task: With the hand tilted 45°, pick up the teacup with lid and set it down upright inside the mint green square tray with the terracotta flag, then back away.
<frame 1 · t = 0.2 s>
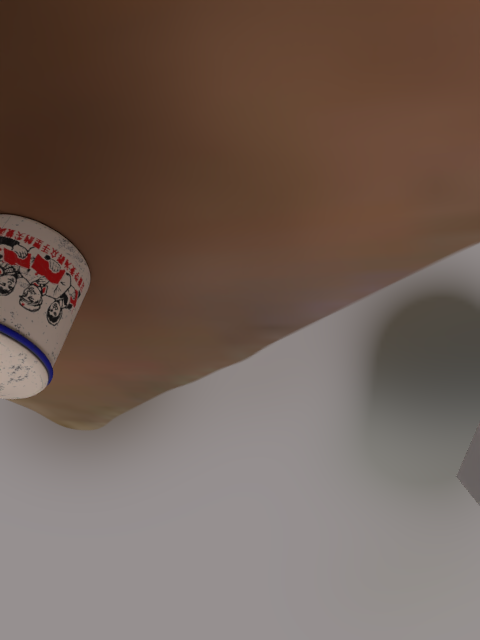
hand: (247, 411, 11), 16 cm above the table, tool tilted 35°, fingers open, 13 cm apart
teacup with lid: (15, 245, 30), on the table
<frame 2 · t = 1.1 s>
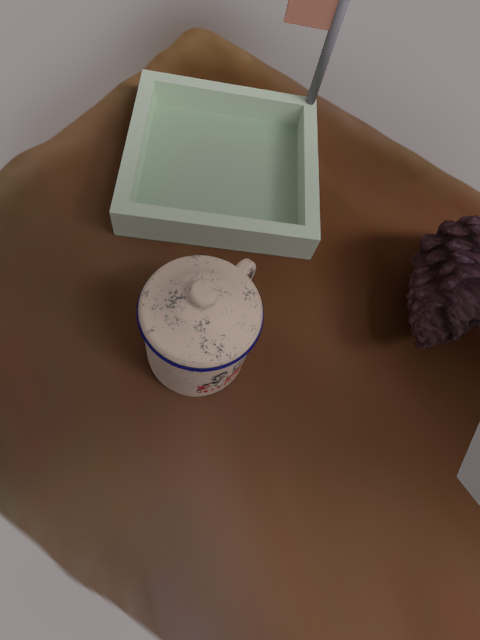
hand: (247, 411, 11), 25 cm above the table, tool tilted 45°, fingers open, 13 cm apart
mint green square tray: (221, 172, 47), on the table
teacup with lid: (205, 339, 38), on the table
pine cone: (430, 300, 44), on the table
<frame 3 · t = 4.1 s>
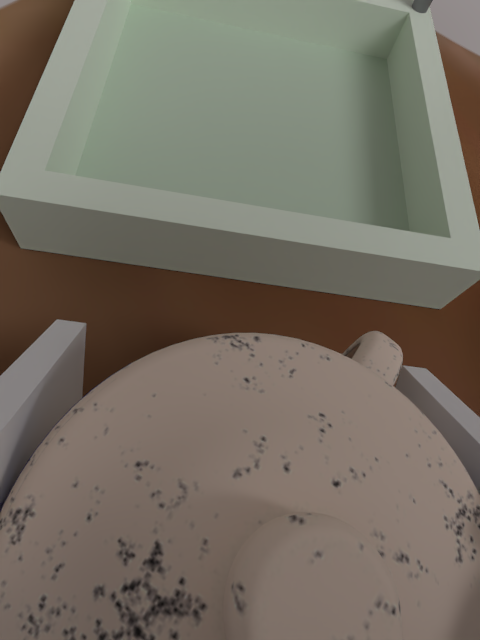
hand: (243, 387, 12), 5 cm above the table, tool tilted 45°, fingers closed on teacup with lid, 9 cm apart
mint green square tray: (254, 131, 24), on the table
teacup with lid: (234, 510, 16), on the table, touching gripper
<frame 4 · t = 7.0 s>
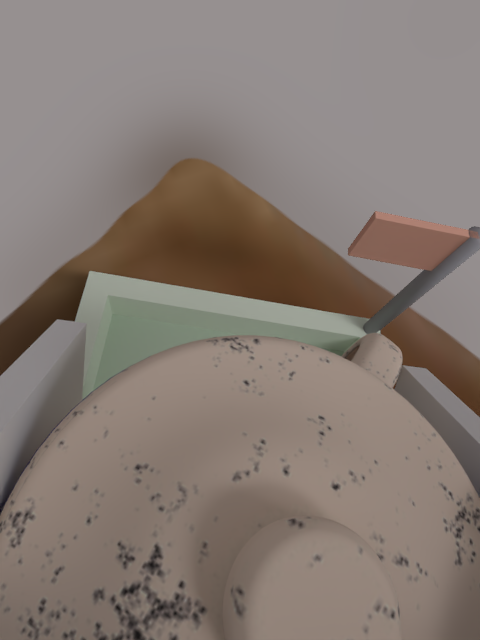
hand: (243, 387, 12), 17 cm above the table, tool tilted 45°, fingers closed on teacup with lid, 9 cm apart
mint green square tray: (216, 456, 27), on the table
teacup with lid: (234, 511, 16), point 11 cm above the table, touching gripper
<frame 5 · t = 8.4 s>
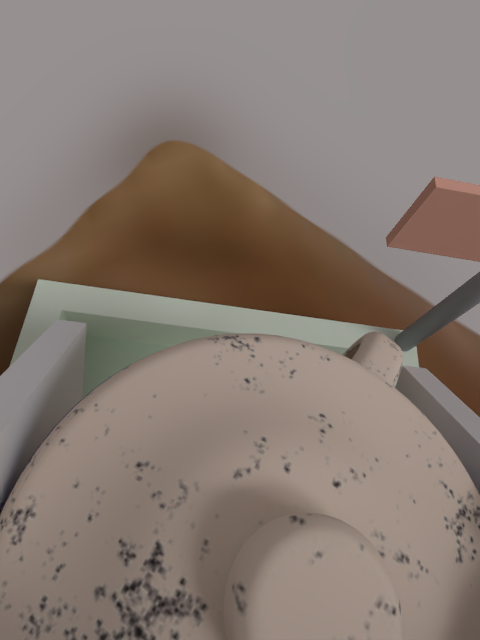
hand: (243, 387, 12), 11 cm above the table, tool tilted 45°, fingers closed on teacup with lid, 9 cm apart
mint green square tray: (210, 517, 21), on the table
teacup with lid: (234, 510, 16), point 6 cm above the table, touching gripper
when the fingers open (6 cm above the table, at t = 9.7 s): teacup with lid stays where it is, resting on mint green square tray.
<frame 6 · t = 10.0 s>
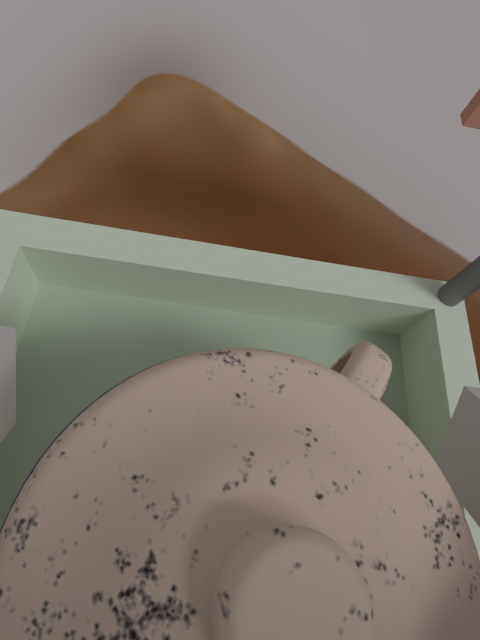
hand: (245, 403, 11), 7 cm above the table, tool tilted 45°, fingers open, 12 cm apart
mint green square tray: (209, 510, 16), on the table
teacup with lid: (230, 513, 16), resting on mint green square tray
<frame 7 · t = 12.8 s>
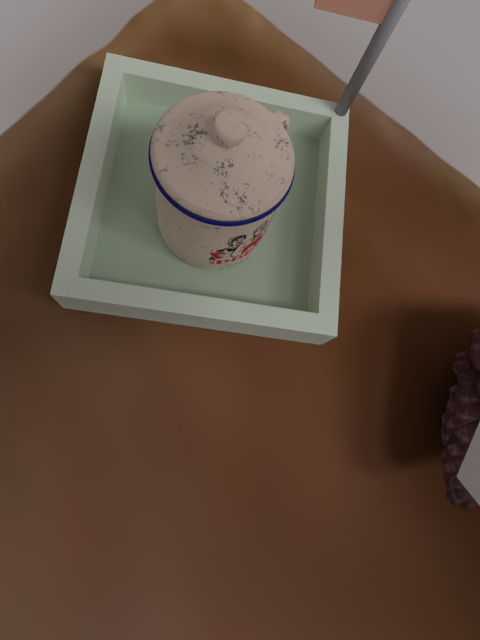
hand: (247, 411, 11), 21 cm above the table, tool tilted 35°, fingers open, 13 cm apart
mint green square tray: (213, 211, 35), on the table
teacup with lid: (222, 210, 34), resting on mint green square tray
pine cone: (467, 402, 35), on the table
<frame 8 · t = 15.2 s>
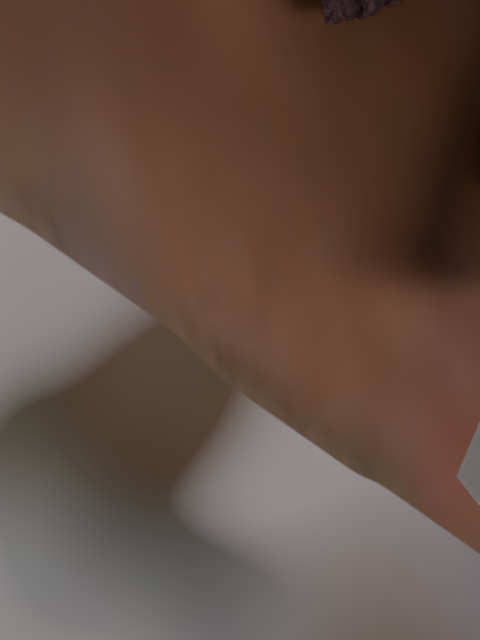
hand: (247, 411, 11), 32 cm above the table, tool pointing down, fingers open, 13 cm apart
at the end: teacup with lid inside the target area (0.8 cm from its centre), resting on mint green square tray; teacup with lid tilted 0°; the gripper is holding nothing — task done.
